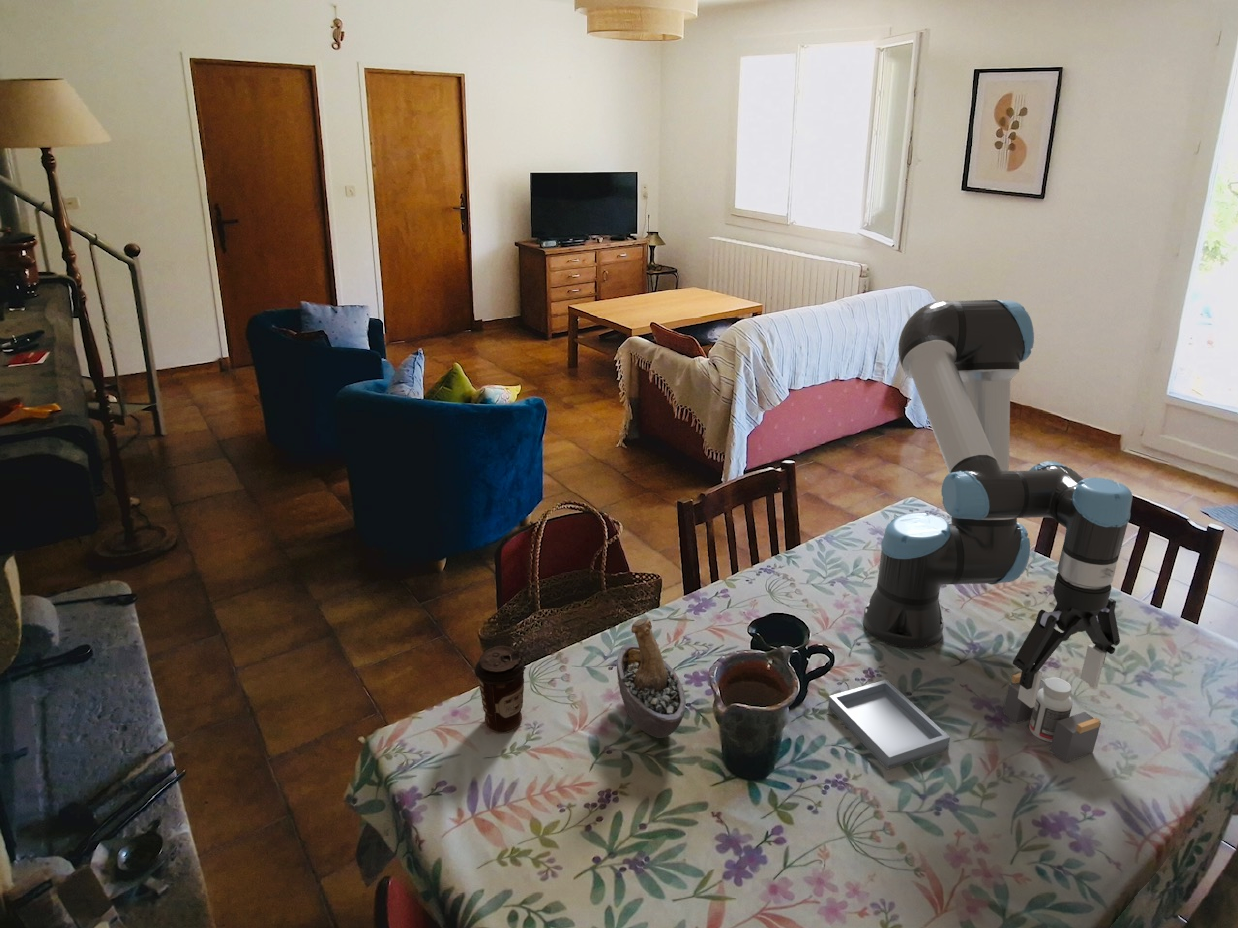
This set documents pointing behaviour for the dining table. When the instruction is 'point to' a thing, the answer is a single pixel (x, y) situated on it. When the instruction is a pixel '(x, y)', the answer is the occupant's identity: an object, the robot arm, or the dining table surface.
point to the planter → (649, 684)
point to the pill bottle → (1050, 707)
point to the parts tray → (888, 723)
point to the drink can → (501, 687)
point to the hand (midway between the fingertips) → (1057, 692)
